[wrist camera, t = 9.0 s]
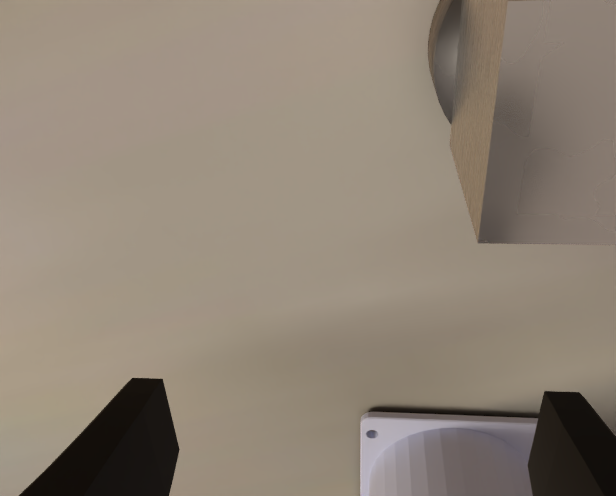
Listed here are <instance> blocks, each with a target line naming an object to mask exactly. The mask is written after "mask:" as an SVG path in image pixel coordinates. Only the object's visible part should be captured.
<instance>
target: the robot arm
mask: <svg viewBox="0 0 616 496" xmlns="http://www.w3.org/2000/svg"><path fill="white" fill-rule="evenodd" d="M369 430H375V431H369ZM178 453H179V446H178V442H177V438H176V433H175V429H174V425H173V421H172V417H171V412H170V408H169V404H168V400H167V396H166V391H165V387H164V383H163V379H149V378H132V379H131V380H130V381H129V382H128V383H127V384H126V385H125V386H124V387H123V388H122V389H121V390H120V391H119V392H118V394H117V395H116V396H115V397H114V398H113V399H112V400H111V401H110V402H109V403H108V404H107V406H106V407H105V408H104V409H103V410H102V411H101V412H100V413H99V414H98V415H97V417H96V418H95V419H94V420H93V421H92V422H91V423H90V424H89V425H88V426H87V427H86V428H85V429H84V431H83V432H82V433H81V434H80V435H79V436H78V437H77V438H76V439H75V440H74V441H73V442H72V443H71V444H70V445H69V446H68V447H67V448H66V449H65V450H64V451H63V452H62V454H61V455H60V456H59V457H58V458H57V459H56V460H55V461H54V462H53V463H52V464H51V465H50V466H49V467H48V468H47V469H46V470H45V471H44V472H43V473H42V474H41V475H40V476H39V477H38V478H37V479H36V480H35V481H34V482H33V483H31V484H30V485H29V486H28V487H27V488H26V489H25V490H24V491H23V492H22V493H21V494H20V495H19V496H169V493H170V489H171V484H172V480H173V476H174V472H175V467H176V462H177V458H178ZM360 496H616V436H615V435H614V434H613V433H612V431H611V430H610V429H609V428H608V427H607V425H606V424H605V423H604V422H603V420H602V419H601V418H600V417H599V415H598V414H597V413H596V412H595V410H594V409H593V408H592V407H591V405H590V404H589V403H588V402H587V400H586V399H585V398H584V397H583V396H582V395H581V394H580V393H579V392H550V391H544V396H543V400H542V404H541V409H540V413H539V417H538V418H519V417H494V416H469V415H444V414H419V413H394V412H367V413H365V414H363V415H362V417H361V451H360Z"/></svg>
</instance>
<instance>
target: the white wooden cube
mask: <svg viewBox="0 0 616 496" xmlns="http://www.w3.org/2000/svg"><path fill="white" fill-rule="evenodd" d="M450 148H451V152H452V155H453V159H454V162H455V165H456V169H457V172H458V176H459V179H460V183H461V186H462V190H463V193H464V197H465V200H466V204H467V207H468V211H469V214H470V218H471V221H472V225H473V228H474V232H475V235H476V239H477V242H478V243H507V244H600V245H616V0H462V7H461V19H460V30H459V42H458V53H457V65H456V76H455V88H454V99H453V111H452V122H451V134H450Z"/></svg>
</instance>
